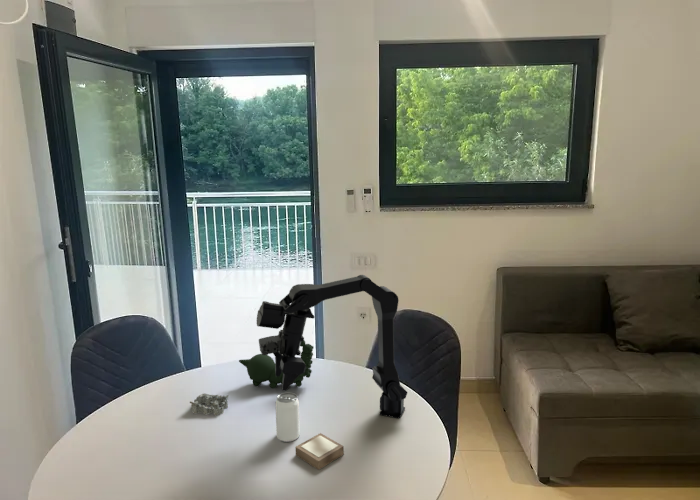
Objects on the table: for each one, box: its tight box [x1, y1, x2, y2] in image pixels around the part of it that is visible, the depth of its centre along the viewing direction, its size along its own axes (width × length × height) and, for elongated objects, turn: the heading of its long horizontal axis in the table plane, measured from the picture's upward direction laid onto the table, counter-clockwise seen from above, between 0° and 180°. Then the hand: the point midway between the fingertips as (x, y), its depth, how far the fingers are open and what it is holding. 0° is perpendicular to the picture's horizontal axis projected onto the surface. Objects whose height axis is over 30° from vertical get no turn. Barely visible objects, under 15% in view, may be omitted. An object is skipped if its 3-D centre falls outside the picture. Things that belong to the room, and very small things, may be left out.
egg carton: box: [189, 393, 229, 416], centre depth 158 cm, size 11×8×4 cm
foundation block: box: [294, 432, 345, 471], centre depth 134 cm, size 9×9×3 cm
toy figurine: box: [238, 339, 314, 390], centre depth 172 cm, size 9×19×25 cm
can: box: [275, 391, 300, 443], centre depth 142 cm, size 6×6×12 cm
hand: (280, 383), depth 142 cm, fingers open, 9 cm apart
